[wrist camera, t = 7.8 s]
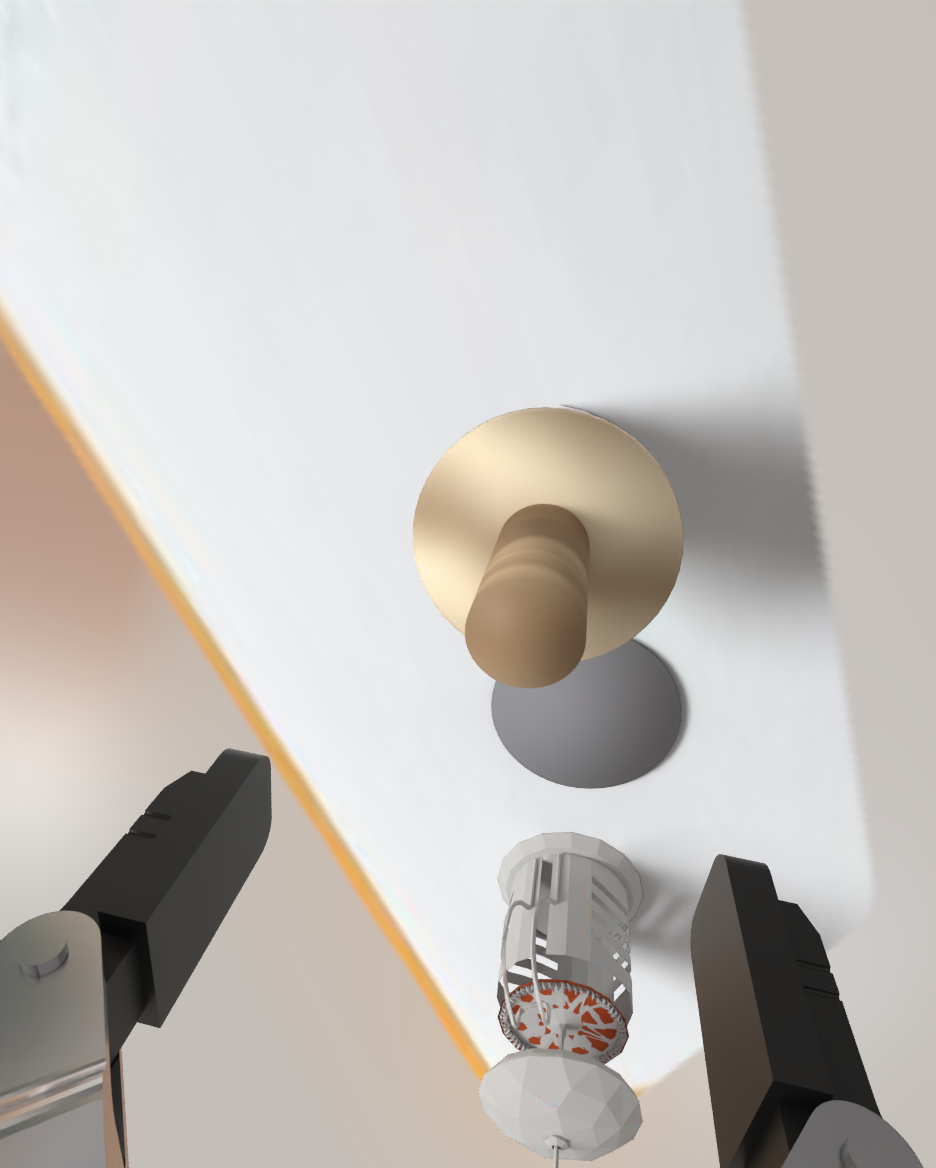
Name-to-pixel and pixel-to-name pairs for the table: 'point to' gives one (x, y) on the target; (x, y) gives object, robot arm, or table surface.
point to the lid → (547, 541)
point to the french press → (565, 999)
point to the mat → (593, 720)
